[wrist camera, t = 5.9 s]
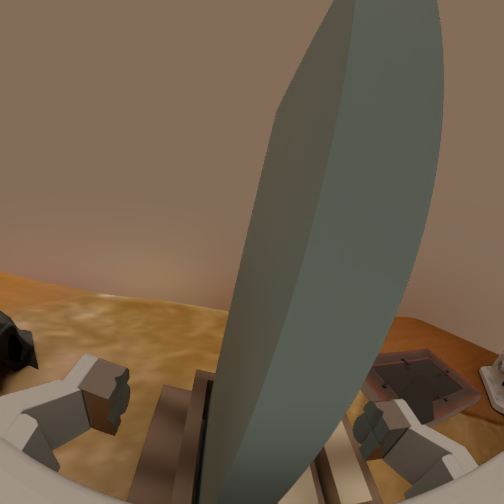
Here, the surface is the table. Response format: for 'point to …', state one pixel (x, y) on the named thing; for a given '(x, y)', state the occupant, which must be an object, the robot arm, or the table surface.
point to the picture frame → (420, 385)
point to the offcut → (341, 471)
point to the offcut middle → (302, 491)
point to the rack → (194, 448)
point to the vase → (15, 345)
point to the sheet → (325, 245)
